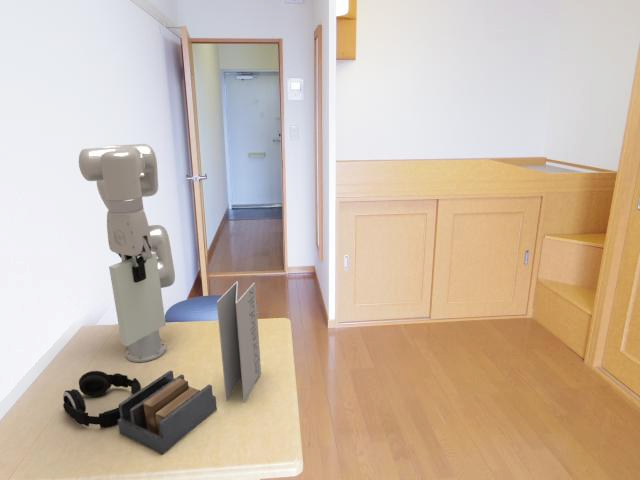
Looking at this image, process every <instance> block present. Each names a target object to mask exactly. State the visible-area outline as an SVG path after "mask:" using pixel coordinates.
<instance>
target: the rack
mask: <svg viewBox="0 0 640 480" xmlns="http://www.w3.org/2000/svg"><path fill="white" fill-rule="evenodd" d="M179 378H180V379H183V380H185V375H184V374H180V375H178V376H177V377H174V371H173V370H168V371H167V372H165V373H164V374H163V375H161V376H159V377H158V378H156V379H155V380H153V381H152V382H151V383H149V384H147V385H146V386H144V387H143V388H141V390H140V391H138V392H137V393H135V394H134V395H132V394H131V396H129V397H128V398H126V399H125V400H123V401H122V402H120V403H118V407H119V411H120V416H121V418H120V419H119V420H117V421H118V425H117V426H118V432H119V435H122V436H124V437H126V438H127V439H130V440H132V441H134V442H135V443H138V444H140V445H141V446H144V447H146V448H148V449H150V450H153V451H154V452H156V453H159V454H161V455H164V454H165V453H166V452H168V451H169V450H170V449H171V448H173V446H175V445H176V444H177V443H179V442H180V440H182V439H183V438H184V437H186V436H187V435H188V434H189V433H190V432H191V431H192V430H194V429H195V428H196V427H197V426H198V425H200V424H201V423H202V422H203V421H204V420H206V419H207V418H208V417H209V416H210V415H212V414H213V413H214V412H215V411H216V410H217V409H218V408H217V407H218V406H217V397H216V395H214V394H213V385H212V384H207V385H206V386H205V387H204V388H202V389H201V390H200V391H199V392H198V393H197V394H195V395H194V396H193V397H192V398H190V399H189V400H188V401H186V402H185V403H184V404H182V405H181V406H180V407H178V408H177V409H176V410H174V411H173V412H172V413H171V414H169V415H168V416H167V417H165V418H164V419H163V420H161V421H160V422H159V428H160V434H161V436H158V435H156V434H154V433H152V432H150V431H148V430H147V424H146V417H145V411H144V404H143V403H144V402H146V401H147V400H149V399H150V398H152V397H153V396H154V395H156V394H157V393H159V392H160V391H162V390H163V389H165V388H166V387H167V386H169V385H170V384H172V383H173V382H175V381H176V380H178V379H179ZM191 387H192V386H189V385H188V388H191ZM193 388H194V389H196V388H195V387H193ZM206 417H207V418H206ZM205 418H206V419H205Z"/></svg>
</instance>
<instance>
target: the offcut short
mask: <svg viewBox="0 0 640 480" xmlns="http://www.w3.org/2000/svg"><path fill="white" fill-rule="evenodd" d="M190 387H191V388H189V389H188V390H187V391H185V392H184V393H183V394H181V395H180V396H178V397H177V398H176V399H174V400H173V401H172V402H170V403H169V404H168V405H166V406H165V407H163V408H162V409H161V410H159V411H158V412H157V413H155V414H156V420H157V427H158V434H159V436H161V434H160V428H159V422H160V421H161V420H163V419H164V418H165V417H167V416H168V415H169V414H171V413H172V412H173V411H174V410H176V409H177V408H178V407H180V406H181V405H182V404H184V403H185V402H186V401H188V400H189V399H190V398H192V397H193V396H194V395H195V394H197V393H198V392H199V391H201V390H200V389H197V388H195V387H192V386H190ZM194 388H195V389H194Z"/></svg>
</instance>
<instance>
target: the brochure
mask: <svg viewBox="0 0 640 480" xmlns="http://www.w3.org/2000/svg"><path fill="white" fill-rule="evenodd" d="M256 289H257V288H256V282H253V283H252V284H251V285H250V286H249V287H248V288H247V290H246V291H245V292H244V293H243V294H242V295H241V296H240V292H239V282H238V280H236V282H234V284H232V286H231V287H230V288H229V289H227V291H226V292H225V293H224V294H223V295H222V296H221V297H220V298H219V299H218V300H217V301H216V308H217V309H216V310H217V319H218V328H219V329H218V330H219V331H218V332H219V343H220V352H221V353H220V354H221V360H222V361H221V363H222V373H223V382H224V383H223V384H224V393H225V402H227V401H228V400H229V398H230V397H231V395H232V394H233V393H234V390H235V389H236V387H237V385H238V384H239V383H240V381H241V385H242V386H241V387H242V397H243V398H242V399H243V403H244V404H245V403H246V402H247V400H248V398H249V396H250V394H251V393H252V391H253V389H254V388H255V386H256V384H257V382H258V381H259V378H260V377H261V375H262V368H261V367H262V366H261V353H260V352H261V350H260V336H259V335H260V334H259V318H258V307H257V291H256Z"/></svg>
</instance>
